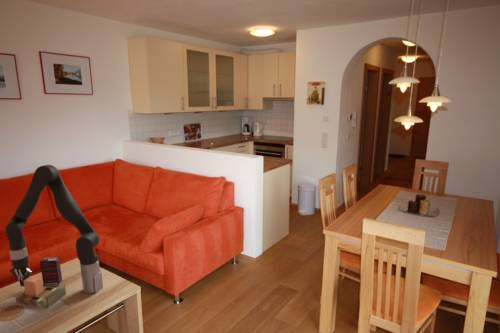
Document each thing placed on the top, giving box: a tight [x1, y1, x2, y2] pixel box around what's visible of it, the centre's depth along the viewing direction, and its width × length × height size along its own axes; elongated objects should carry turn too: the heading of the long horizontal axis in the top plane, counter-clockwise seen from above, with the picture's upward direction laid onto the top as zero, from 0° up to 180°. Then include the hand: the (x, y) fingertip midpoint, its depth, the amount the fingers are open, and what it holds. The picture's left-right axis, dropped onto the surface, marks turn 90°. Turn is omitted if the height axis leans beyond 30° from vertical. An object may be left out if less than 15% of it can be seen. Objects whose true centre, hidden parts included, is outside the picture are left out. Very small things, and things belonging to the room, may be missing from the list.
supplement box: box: [39, 256, 63, 287], centre depth 185 cm, size 9×5×16 cm, turn 99°
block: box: [23, 275, 43, 296], centre depth 173 cm, size 7×4×8 cm, turn 78°
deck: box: [15, 283, 67, 308], centre depth 173 cm, size 20×12×6 cm, turn 78°
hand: (23, 285), depth 174 cm, fingers closed
